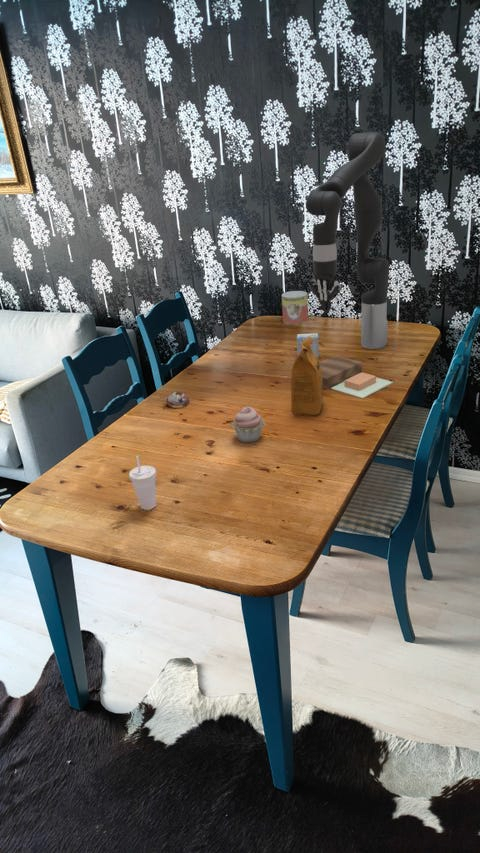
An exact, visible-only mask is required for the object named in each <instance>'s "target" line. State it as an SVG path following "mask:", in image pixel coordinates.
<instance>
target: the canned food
mask: <svg viewBox="0 0 480 853" xmlns="http://www.w3.org/2000/svg"><path fill="white" fill-rule="evenodd" d="M308 304H309V303H308V292H306V291H302V290H290V291H287V292H283V293H282V294H281V308H282V322H284V323H283V324H285V325H289V324H297V325H299V324H298V323H303V322H306V321H307V322H309V310H308V309H309V308H308V307H309V306H308ZM307 322H306V323H307ZM303 324H304V323H303Z"/></svg>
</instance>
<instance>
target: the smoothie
mask: <svg viewBox="0 0 480 853" xmlns="http://www.w3.org/2000/svg"><path fill="white" fill-rule="evenodd" d="M135 458H136V459H135V460H136V464H137V466H136V467H134V468H132V469H131V470H130V471H129V473H128V476H129V480H130V481H131V483H132V486H133V488H134V492H135V496H136V498H137V500H138V503H139V506H140V509H141V508H142V509H145V510H147V509H152V508H154V507H155V506H156V507H157V490H156V487H157V486H156V476H157V471H156V470H157V469H156V468H155V467H154V466H151V465H141V464H140V459H139V455H136V456H135ZM156 507H155V508H156ZM155 508H154V509H155ZM142 509H141V510H142ZM145 510H144V511H145ZM152 510H153V509H152Z"/></svg>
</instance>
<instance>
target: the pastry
mask: <svg viewBox="0 0 480 853" xmlns="http://www.w3.org/2000/svg"><path fill="white" fill-rule="evenodd" d="M165 402H166V405H167V407H169V408H170V409H174V410H176V409H177V410H178V409H182V408H185V407H187V406H189V404H190V399H189V397H188V396H187V395H186V394H184V393H183V391H180V390H176V391H175V392H173V393H172V394H170V395H168V397H167V398H166V400H165Z"/></svg>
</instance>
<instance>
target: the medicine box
mask: <svg viewBox="0 0 480 853" xmlns="http://www.w3.org/2000/svg"><path fill="white" fill-rule="evenodd" d="M308 337H311V338H312V339H313V343H312V344H311V345H310V347H311V349H312V352H313V354H314V355H315V356H316V357H317V359H319V357H320V356H319V355H320V353H319V333H317V332H316V333H297V334H296V351H297V357H298V356H299V354H300V353H301V351H302V347H301V343H303V342H304V341H305V340H306V339H307V338H308Z"/></svg>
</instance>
